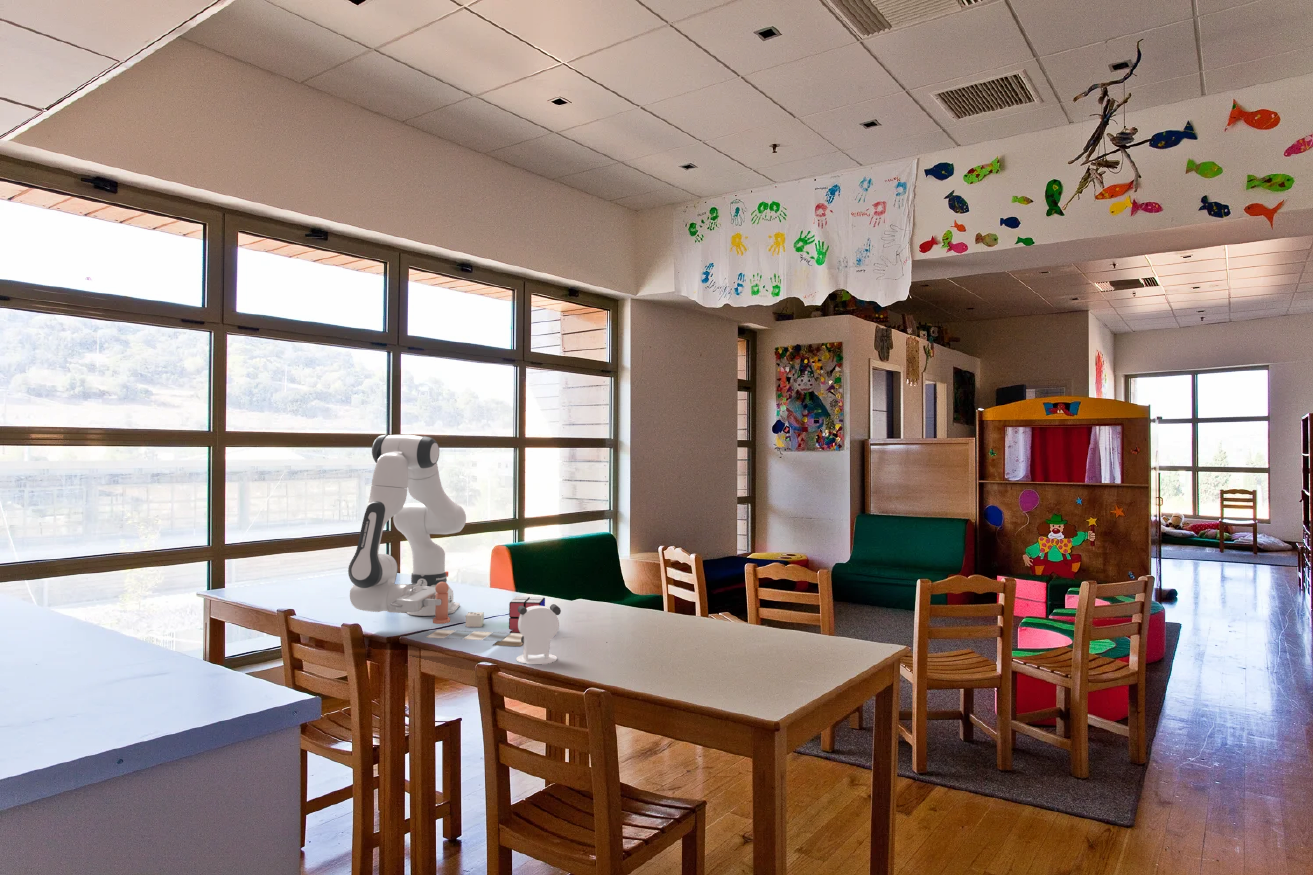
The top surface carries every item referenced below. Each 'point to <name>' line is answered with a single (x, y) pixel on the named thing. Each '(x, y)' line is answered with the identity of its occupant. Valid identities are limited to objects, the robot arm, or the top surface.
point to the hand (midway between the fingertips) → (444, 600)
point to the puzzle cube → (521, 601)
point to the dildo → (442, 609)
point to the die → (474, 619)
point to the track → (481, 636)
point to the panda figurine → (537, 633)
